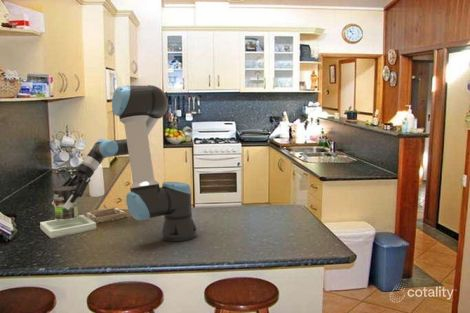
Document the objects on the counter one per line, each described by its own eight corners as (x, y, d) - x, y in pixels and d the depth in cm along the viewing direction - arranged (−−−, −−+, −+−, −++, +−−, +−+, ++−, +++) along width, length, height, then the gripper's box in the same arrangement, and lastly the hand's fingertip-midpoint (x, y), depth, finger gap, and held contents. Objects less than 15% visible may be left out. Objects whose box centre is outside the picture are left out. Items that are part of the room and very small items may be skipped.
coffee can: (66, 222, 205) (63, 191, 203) (50, 219, 210) (47, 189, 208) (83, 216, 214) (81, 186, 212) (67, 214, 219) (65, 185, 217)
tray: (96, 229, 210) (96, 223, 209) (51, 238, 198) (50, 231, 198) (83, 220, 226) (82, 214, 226) (40, 228, 215) (39, 222, 214)
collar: (126, 217, 229) (126, 212, 228) (96, 223, 220) (95, 218, 220) (115, 211, 241) (115, 207, 241) (86, 217, 233) (86, 212, 232)
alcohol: (86, 197, 281) (82, 148, 277) (95, 193, 290) (91, 146, 286) (99, 197, 279) (95, 148, 275) (107, 194, 287) (103, 146, 283)
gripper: (106, 174, 213) (78, 214, 204) (80, 170, 228) (53, 207, 219) (95, 164, 209) (66, 205, 199) (69, 161, 223) (41, 199, 214)
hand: (59, 206), depth 209 cm, fingers closed on coffee can, 10 cm apart
